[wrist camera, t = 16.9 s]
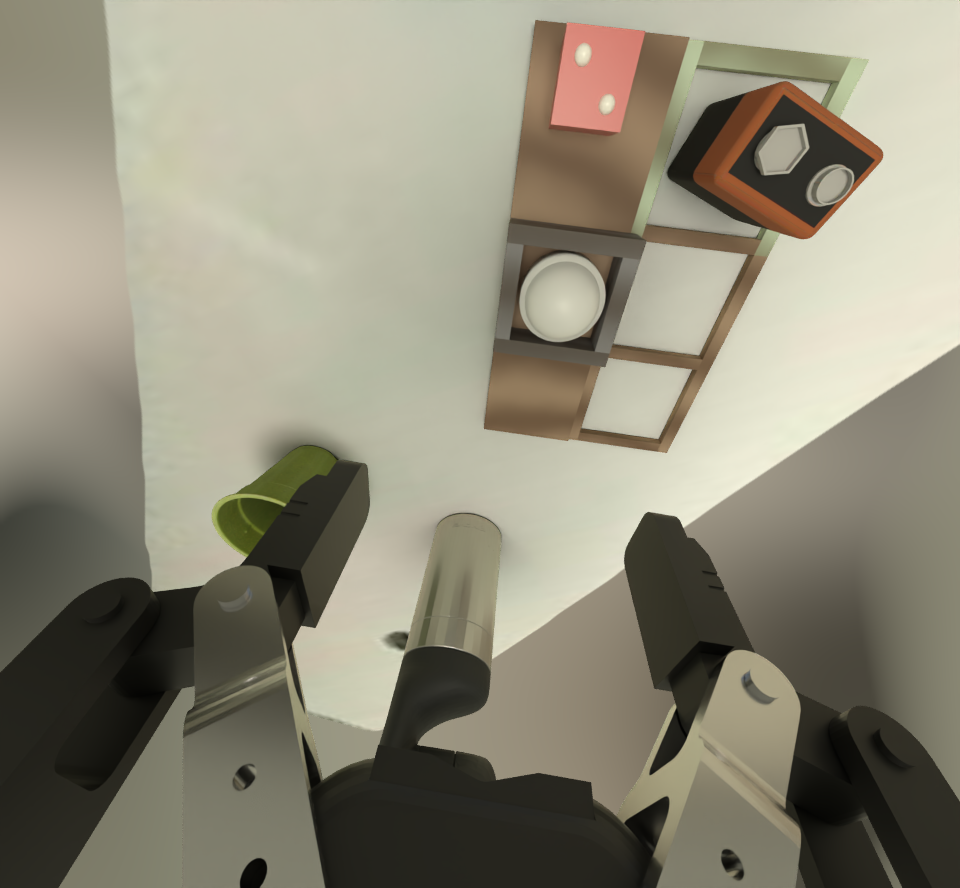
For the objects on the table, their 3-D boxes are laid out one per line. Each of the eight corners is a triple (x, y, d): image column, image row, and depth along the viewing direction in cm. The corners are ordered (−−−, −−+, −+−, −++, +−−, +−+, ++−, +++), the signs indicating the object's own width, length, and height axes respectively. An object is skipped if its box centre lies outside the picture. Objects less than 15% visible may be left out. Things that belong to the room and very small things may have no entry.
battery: (709, 99, 24) (796, 70, 16) (790, 155, 25) (909, 152, 17) (662, 175, 27) (717, 181, 19) (737, 222, 28) (819, 247, 20)
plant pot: (378, 495, 50) (345, 568, 41) (301, 502, 52) (254, 573, 44) (339, 421, 43) (289, 490, 34) (253, 434, 46) (185, 501, 37)
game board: (664, 448, 40) (676, 474, 37) (484, 422, 41) (480, 445, 38) (859, 62, 22) (916, 45, 19) (535, 26, 23) (535, 3, 20)
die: (608, 136, 25) (621, 132, 21) (548, 128, 25) (551, 123, 21) (629, 49, 22) (647, 28, 19) (562, 41, 22) (567, 19, 19)
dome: (587, 334, 33) (596, 361, 28) (514, 324, 33) (512, 350, 28) (610, 253, 29) (624, 270, 24) (527, 242, 29) (526, 257, 25)
